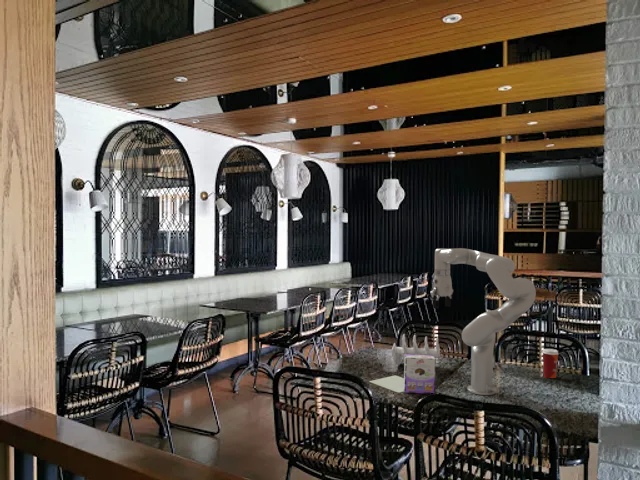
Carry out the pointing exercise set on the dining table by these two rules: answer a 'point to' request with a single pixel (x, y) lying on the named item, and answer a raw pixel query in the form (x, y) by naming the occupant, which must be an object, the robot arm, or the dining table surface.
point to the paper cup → (550, 362)
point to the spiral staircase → (413, 350)
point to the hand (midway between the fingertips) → (441, 307)
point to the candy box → (419, 374)
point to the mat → (391, 383)
